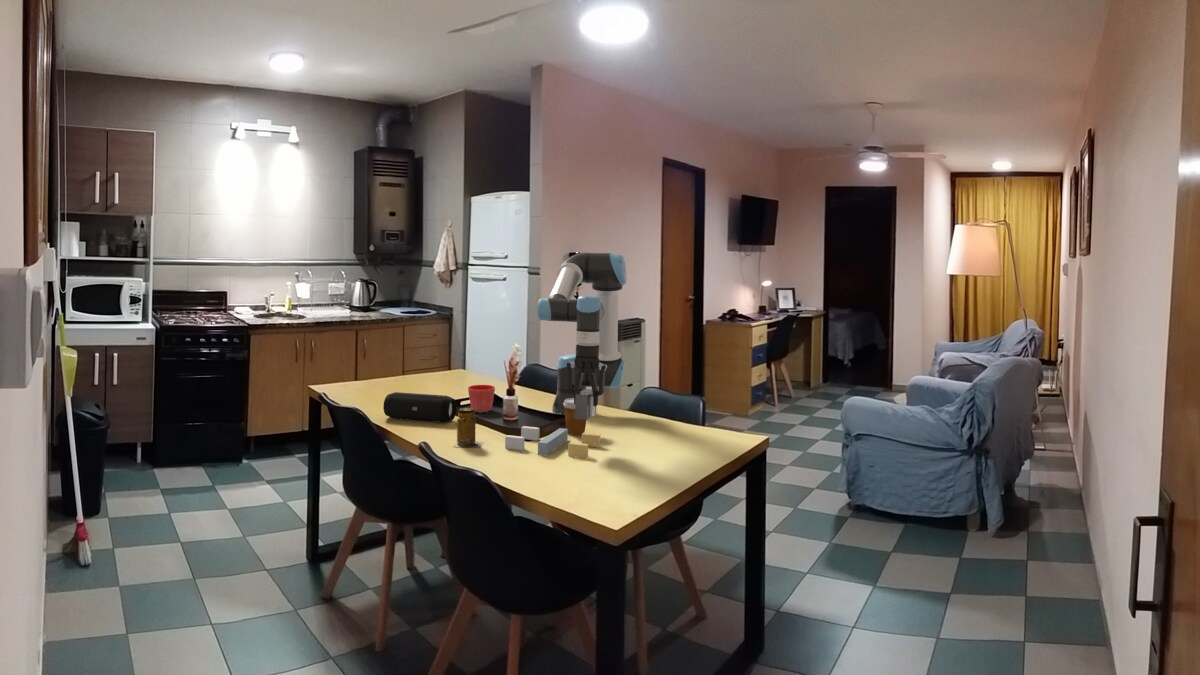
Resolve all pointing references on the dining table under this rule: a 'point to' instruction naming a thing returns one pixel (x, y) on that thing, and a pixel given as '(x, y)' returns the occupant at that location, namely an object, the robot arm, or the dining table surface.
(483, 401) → the flower pot
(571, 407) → the disposable coffee cup
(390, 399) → the portable speaker
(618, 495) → the dining table surface
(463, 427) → the condiment
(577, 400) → the steel block
